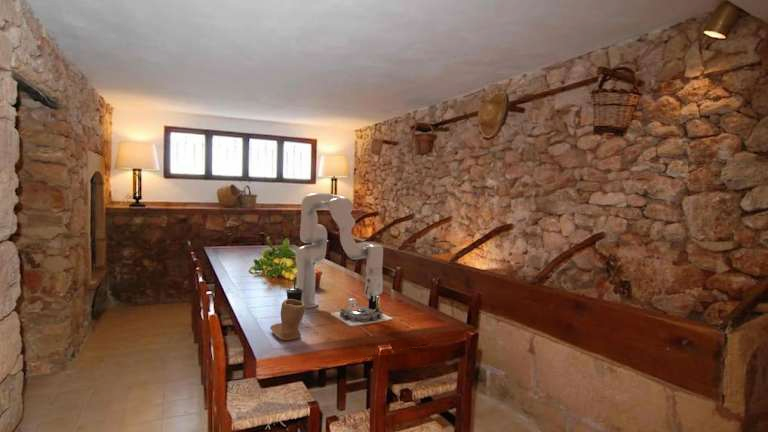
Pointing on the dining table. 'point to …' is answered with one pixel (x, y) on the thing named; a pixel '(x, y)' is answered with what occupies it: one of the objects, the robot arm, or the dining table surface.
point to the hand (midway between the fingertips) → (372, 308)
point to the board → (356, 323)
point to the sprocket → (362, 312)
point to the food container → (317, 278)
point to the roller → (352, 302)
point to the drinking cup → (294, 292)
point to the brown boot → (289, 320)
